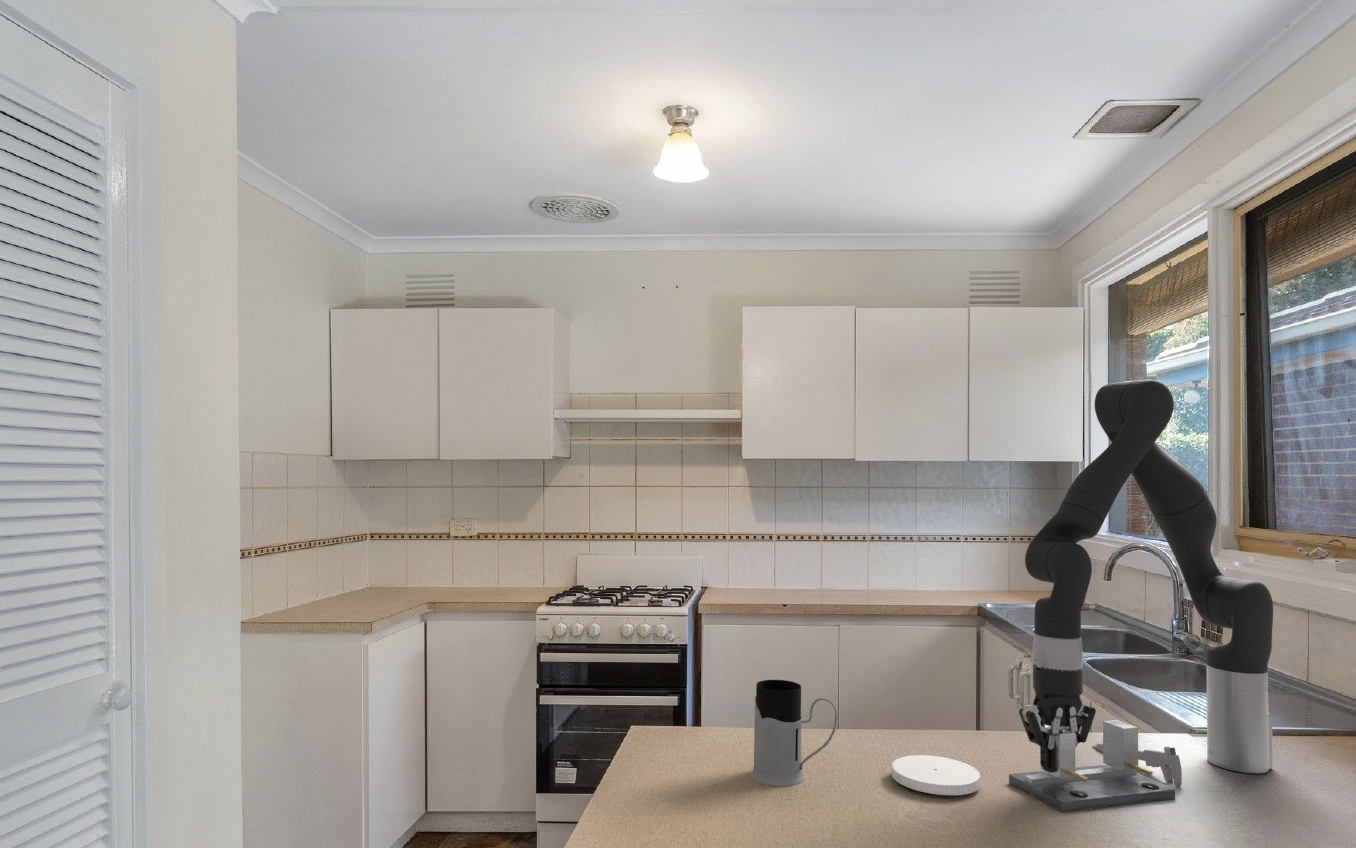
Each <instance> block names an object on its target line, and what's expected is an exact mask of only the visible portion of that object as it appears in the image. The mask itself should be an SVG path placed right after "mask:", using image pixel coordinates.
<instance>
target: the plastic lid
mask: <svg viewBox="0 0 1356 848" xmlns="http://www.w3.org/2000/svg"><path fill="white" fill-rule="evenodd" d="M891 777H892V779H893V780H894V781H896V782H897V783H898V784H900V785H902V786H904V787H906V788H909V789H911V790H915V791H918V792H921V793H922V792H923V793H926V794H932V795H936V796H937V795H940V796H962V795H964V796H965V795H968V794H971V793H972V794H973V793H975V792H977V791H978V790H979V789H980V788H981V781H982V779H981V778H982V777H981V772H979V770H978V769H976V767H973V766H972V765H969V764H967V763H965V762H963V761H960V760H957V759H953V758H949V757H948V758H947V757H943V756H939V755H938V756H937V755H936V756H935V755H927V754H926V755H924V754H921V755H920V754H918V755H917V754H915V755H906V756H903V757H898V758H896V759H894V760H893V761H892V762H891Z"/></svg>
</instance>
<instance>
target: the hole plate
mask: <svg viewBox="0 0 1356 848" xmlns="http://www.w3.org/2000/svg"><path fill="white" fill-rule="evenodd" d="M1075 772H1076V773H1078V774H1080V775H1082V776H1085V777H1087V778H1088V782H1083V781H1081V780H1079V779H1077V778H1075V777H1069V778H1058V777H1056V776H1054V775H1052V774H1050V773H1048V772H1046V771H1044V770H1037V771H1027V772H1019V773H1017V772H1016V773H1009V774H1008V784H1010V786H1013V787H1015V788H1016V787H1017V788H1016V789H1018V790H1020V791H1022V790H1023V791H1022V792H1024V793H1026V794H1027V795H1029V794H1030V796H1031V797H1033V798H1034V799H1036V800H1039V801H1041V802H1042V803H1044V804H1046V805H1047V806H1049V807H1051V808H1053V809H1055V810H1057V811H1058V812H1060V813H1065V812H1066V811H1067V812H1073V811H1083V810H1084V809H1085V810H1091V809H1090V808H1093V809H1100V808H1099V807H1102V808H1109V807H1116V806H1117V807H1118V806H1126V805H1134V804H1137V805H1138V804H1144V803H1152V802H1161V801H1171V800H1176V789H1175V788H1173V787H1170V786H1168V785H1166V784H1164V783H1161V782H1160V781H1157V780H1155V779H1153V778H1150V777H1148V776H1145V775H1144V774H1140V773H1138V771H1128V772H1123V771H1120V770H1118V769H1116V768H1114V767H1111V766H1109V765H1107V764H1102V765H1101V764H1100V765H1089V766H1079V767H1075ZM1085 810H1084V811H1085Z"/></svg>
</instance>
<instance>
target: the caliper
mask: <svg viewBox="0 0 1356 848" xmlns="http://www.w3.org/2000/svg"><path fill="white" fill-rule="evenodd" d="M1092 748H1093V749H1096V750H1097V751H1099V752H1101V753H1103V742H1102V743H1101V742H1099V743H1097V742H1096V745H1092ZM1163 748H1164V751H1159V750H1153V749H1143V750H1140V749H1138V761H1143V762H1145V766H1146V767H1152V768H1158V767H1159V768H1160V769H1161V772H1162V775H1163V777H1164V781H1165V783H1166V784H1168V785H1169V784H1173V785H1174V787H1181V786H1182V785H1183V776H1182V775H1183V774H1182V773H1183V772H1182V769H1183V768H1182V765H1181V760H1180V755H1178V754H1177V753H1176V748H1175V747H1170V746H1164V747H1163Z"/></svg>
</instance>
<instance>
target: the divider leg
mask: <svg viewBox="0 0 1356 848" xmlns="http://www.w3.org/2000/svg"><path fill="white" fill-rule="evenodd" d="M1047 726H1048V727H1049V728H1051V726H1049V725H1047ZM1047 736H1048V734H1047ZM1046 740H1047V738H1046ZM1053 749H1054V750H1055V772H1051V773H1050V772H1048V771H1046V770H1044V769H1043V768H1042V766H1041V765H1040V770H1041V771H1046V772H1048V773H1050V774H1052V775H1054V776H1056V777H1058V778H1069V777H1075V778H1077V779H1079V780H1081V781H1083V782H1088V778H1087V777H1085V776H1082V775H1080V774H1078V773H1076V772H1075V768H1076V747H1075V732H1071V731H1068V730H1066V729H1064V728H1061V727H1059V733H1058V734H1057V735H1056V737H1055V745H1054V748H1053Z"/></svg>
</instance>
